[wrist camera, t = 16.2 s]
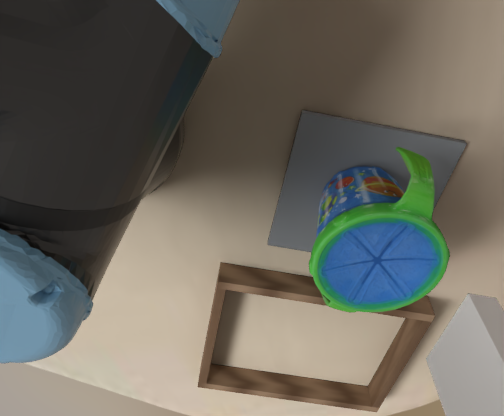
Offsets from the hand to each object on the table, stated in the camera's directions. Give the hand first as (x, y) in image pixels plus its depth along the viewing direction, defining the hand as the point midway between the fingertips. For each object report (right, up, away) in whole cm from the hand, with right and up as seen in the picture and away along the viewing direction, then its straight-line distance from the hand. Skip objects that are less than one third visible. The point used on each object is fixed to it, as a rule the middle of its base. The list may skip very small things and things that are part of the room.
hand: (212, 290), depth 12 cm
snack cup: (+11, +3, +31) cm, 34 cm away
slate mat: (+11, +3, +32) cm, 34 cm away
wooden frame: (+8, -14, +44) cm, 46 cm away
